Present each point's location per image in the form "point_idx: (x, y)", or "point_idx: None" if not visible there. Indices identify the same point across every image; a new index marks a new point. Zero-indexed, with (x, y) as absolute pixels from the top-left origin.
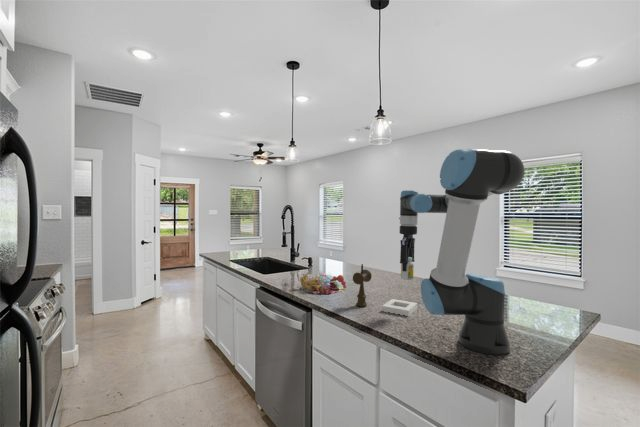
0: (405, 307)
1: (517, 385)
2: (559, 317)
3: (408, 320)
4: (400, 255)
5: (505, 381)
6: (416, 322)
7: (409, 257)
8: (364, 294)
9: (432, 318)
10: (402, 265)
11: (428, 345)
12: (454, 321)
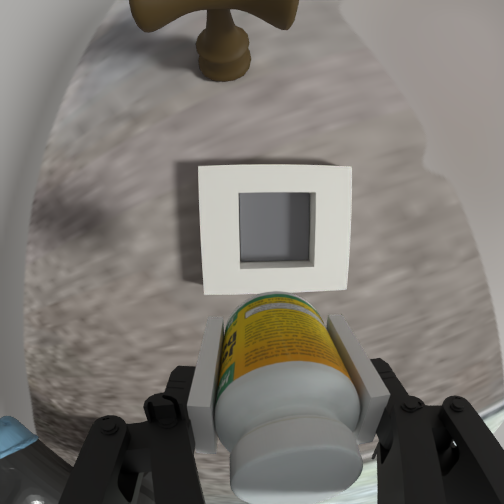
0: (310, 241)
1: None
2: None
3: (162, 297)
4: (66, 483)
5: None
6: (161, 325)
7: (317, 491)
8: (219, 53)
9: None
10: (191, 395)
11: (46, 372)
12: None
